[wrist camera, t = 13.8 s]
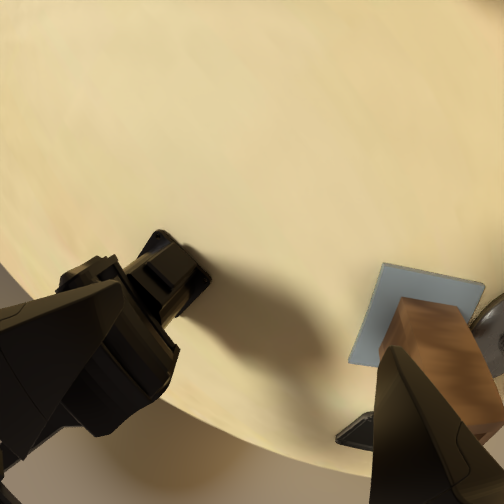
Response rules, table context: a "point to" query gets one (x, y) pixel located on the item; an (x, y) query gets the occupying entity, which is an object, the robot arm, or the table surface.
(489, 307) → the peg stand
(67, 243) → the table surface
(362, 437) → the phone
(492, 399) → the walnut sleeve
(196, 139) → the table surface
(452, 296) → the pad
